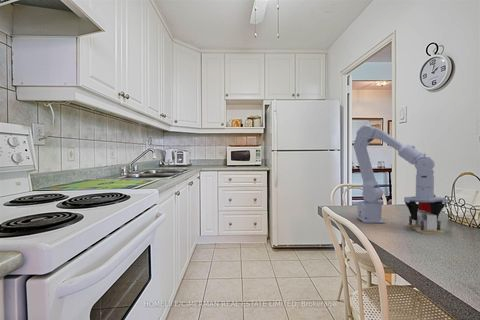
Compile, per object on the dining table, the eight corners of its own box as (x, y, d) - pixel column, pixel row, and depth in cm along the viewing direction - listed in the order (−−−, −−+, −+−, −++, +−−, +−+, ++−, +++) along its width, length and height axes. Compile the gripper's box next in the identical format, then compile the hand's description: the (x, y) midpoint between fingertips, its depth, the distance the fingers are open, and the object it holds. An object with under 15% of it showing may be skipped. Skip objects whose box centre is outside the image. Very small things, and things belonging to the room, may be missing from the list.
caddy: (444, 234, 89) (444, 222, 89) (422, 233, 90) (422, 222, 90) (425, 225, 99) (425, 215, 99) (405, 225, 100) (406, 215, 100)
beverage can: (440, 221, 105) (441, 195, 105) (425, 221, 105) (425, 195, 105) (428, 217, 112) (429, 192, 111) (414, 217, 112) (414, 192, 112)
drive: (436, 230, 90) (436, 215, 90) (426, 230, 90) (427, 214, 90) (422, 224, 98) (422, 210, 98) (413, 224, 98) (413, 209, 98)
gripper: (412, 188, 91) (411, 222, 91) (451, 188, 89) (451, 223, 90) (401, 185, 98) (400, 217, 98) (437, 185, 96) (437, 218, 97)
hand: (424, 220), depth 94 cm, fingers open, 7 cm apart
